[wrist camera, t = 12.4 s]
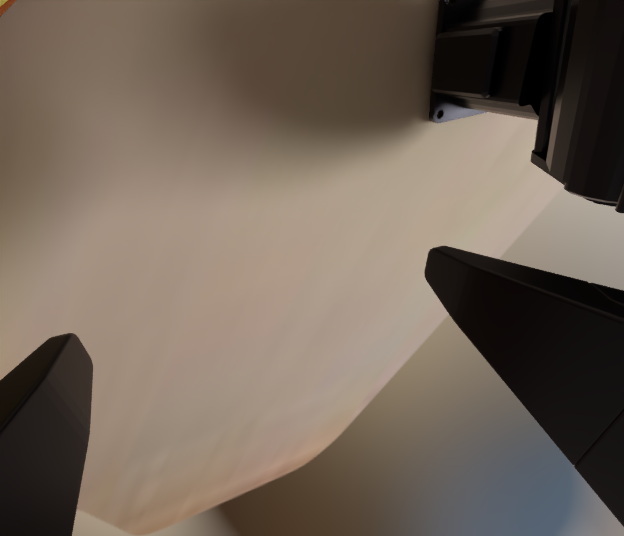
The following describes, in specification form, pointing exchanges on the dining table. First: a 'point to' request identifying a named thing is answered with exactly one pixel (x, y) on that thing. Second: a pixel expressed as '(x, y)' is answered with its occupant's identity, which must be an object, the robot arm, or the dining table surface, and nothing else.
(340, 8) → the dining table surface
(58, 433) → the robot arm
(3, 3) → the cheeseburger
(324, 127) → the dining table surface
